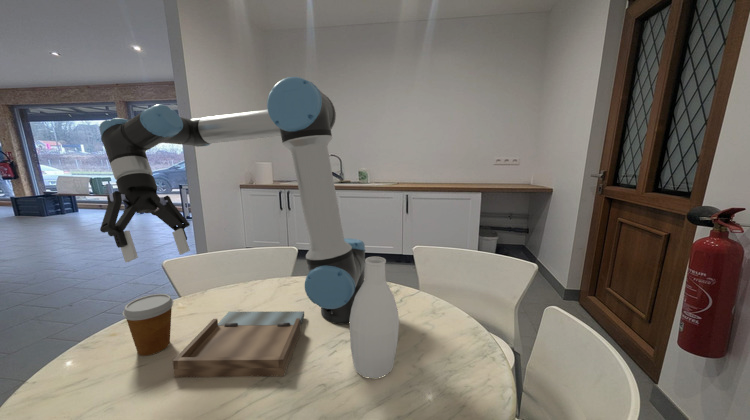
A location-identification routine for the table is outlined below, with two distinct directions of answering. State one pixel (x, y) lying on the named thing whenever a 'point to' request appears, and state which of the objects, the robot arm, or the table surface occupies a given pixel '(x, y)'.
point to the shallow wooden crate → (242, 346)
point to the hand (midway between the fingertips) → (161, 256)
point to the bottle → (374, 323)
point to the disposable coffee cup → (150, 322)
